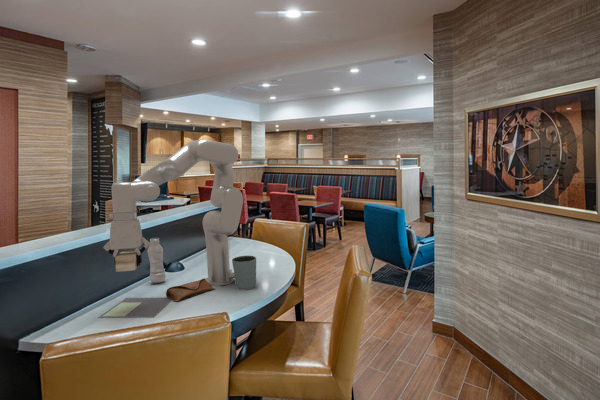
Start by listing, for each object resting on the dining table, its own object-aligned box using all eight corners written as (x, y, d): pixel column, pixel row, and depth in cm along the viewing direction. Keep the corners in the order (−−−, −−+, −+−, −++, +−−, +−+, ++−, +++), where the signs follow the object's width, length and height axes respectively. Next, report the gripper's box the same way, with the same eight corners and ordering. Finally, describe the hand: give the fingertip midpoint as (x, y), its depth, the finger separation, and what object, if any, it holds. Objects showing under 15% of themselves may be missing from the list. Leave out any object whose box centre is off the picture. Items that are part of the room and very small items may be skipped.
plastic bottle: (161, 285, 154) (157, 240, 152) (146, 284, 155) (143, 240, 153) (168, 280, 160) (165, 237, 158) (155, 279, 162) (151, 237, 159)
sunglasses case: (177, 301, 132) (172, 284, 134) (169, 306, 136) (164, 290, 138) (217, 288, 146) (211, 273, 147) (208, 294, 150) (203, 279, 152)
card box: (134, 270, 123) (134, 256, 123) (116, 271, 122) (115, 257, 121) (140, 262, 133) (139, 249, 133) (123, 264, 132) (122, 251, 131)
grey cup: (253, 290, 143) (251, 262, 142) (229, 289, 145) (228, 261, 144) (260, 282, 153) (259, 255, 152) (238, 281, 155) (237, 255, 154)
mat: (175, 298, 138) (175, 297, 138) (154, 318, 120) (153, 317, 120) (126, 298, 139) (126, 297, 139) (97, 319, 121) (97, 317, 121)
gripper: (95, 219, 120) (98, 271, 122) (149, 216, 124) (152, 266, 126) (101, 216, 127) (105, 265, 129) (152, 214, 131) (155, 261, 133)
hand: (128, 265), depth 127 cm, fingers closed on card box, 6 cm apart
